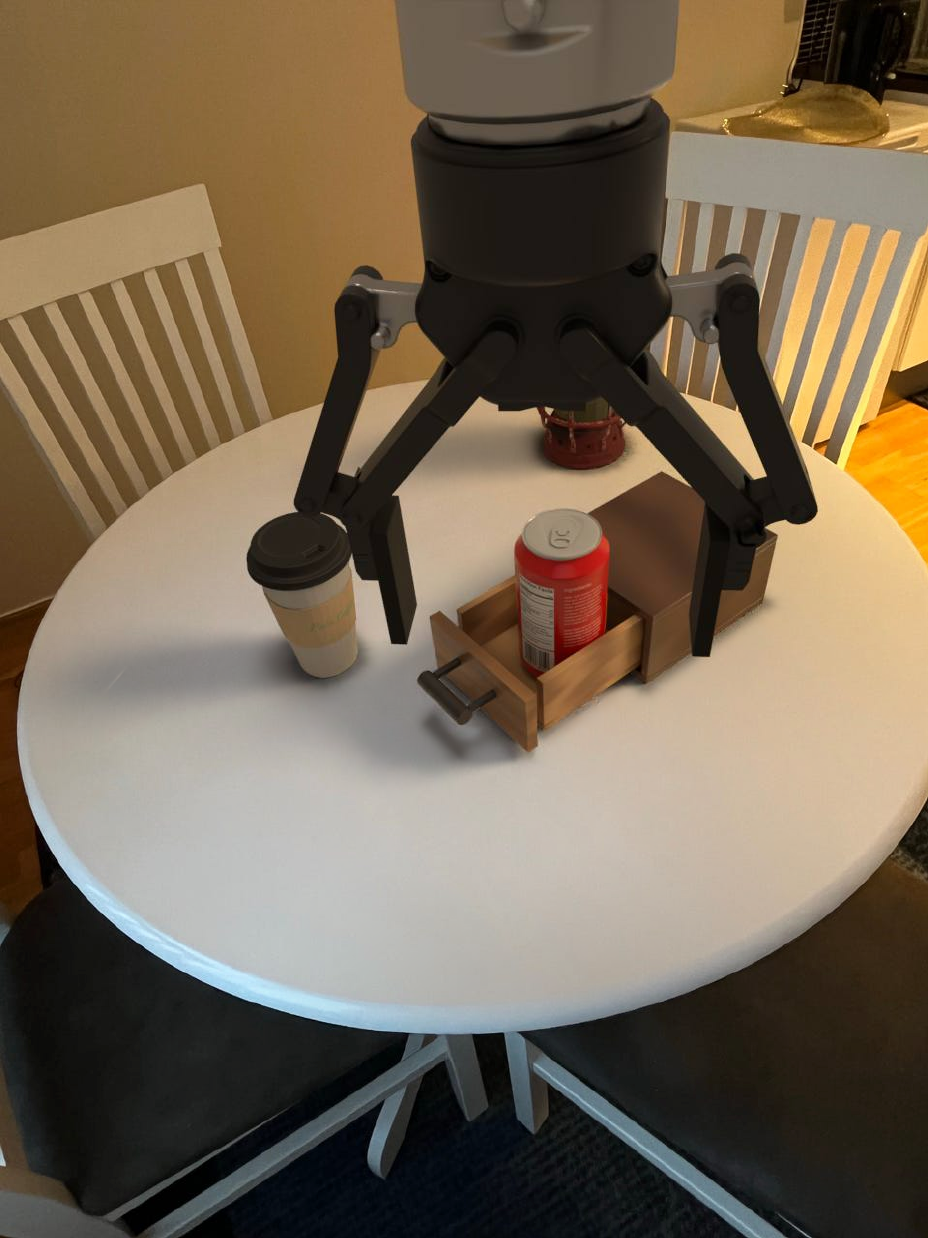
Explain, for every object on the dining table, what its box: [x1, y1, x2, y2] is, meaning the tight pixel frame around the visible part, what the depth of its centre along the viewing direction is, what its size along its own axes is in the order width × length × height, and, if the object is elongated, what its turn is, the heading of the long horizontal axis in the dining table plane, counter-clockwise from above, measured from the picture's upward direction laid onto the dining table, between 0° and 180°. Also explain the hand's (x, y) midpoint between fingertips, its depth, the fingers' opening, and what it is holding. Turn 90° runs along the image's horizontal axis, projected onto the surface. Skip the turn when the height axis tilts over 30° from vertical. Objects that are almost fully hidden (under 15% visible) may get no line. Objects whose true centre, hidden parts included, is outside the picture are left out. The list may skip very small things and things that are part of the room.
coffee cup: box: [245, 511, 359, 679], centre depth 78 cm, size 9×9×15 cm
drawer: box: [416, 574, 646, 754], centre depth 75 cm, size 20×13×7 cm
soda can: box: [513, 507, 610, 678], centre depth 72 cm, size 8×8×15 cm
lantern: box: [535, 398, 627, 470], centre depth 96 cm, size 12×12×30 cm
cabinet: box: [586, 470, 779, 684], centre depth 82 cm, size 17×15×9 cm
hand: (547, 630), depth 39 cm, fingers open, 13 cm apart
